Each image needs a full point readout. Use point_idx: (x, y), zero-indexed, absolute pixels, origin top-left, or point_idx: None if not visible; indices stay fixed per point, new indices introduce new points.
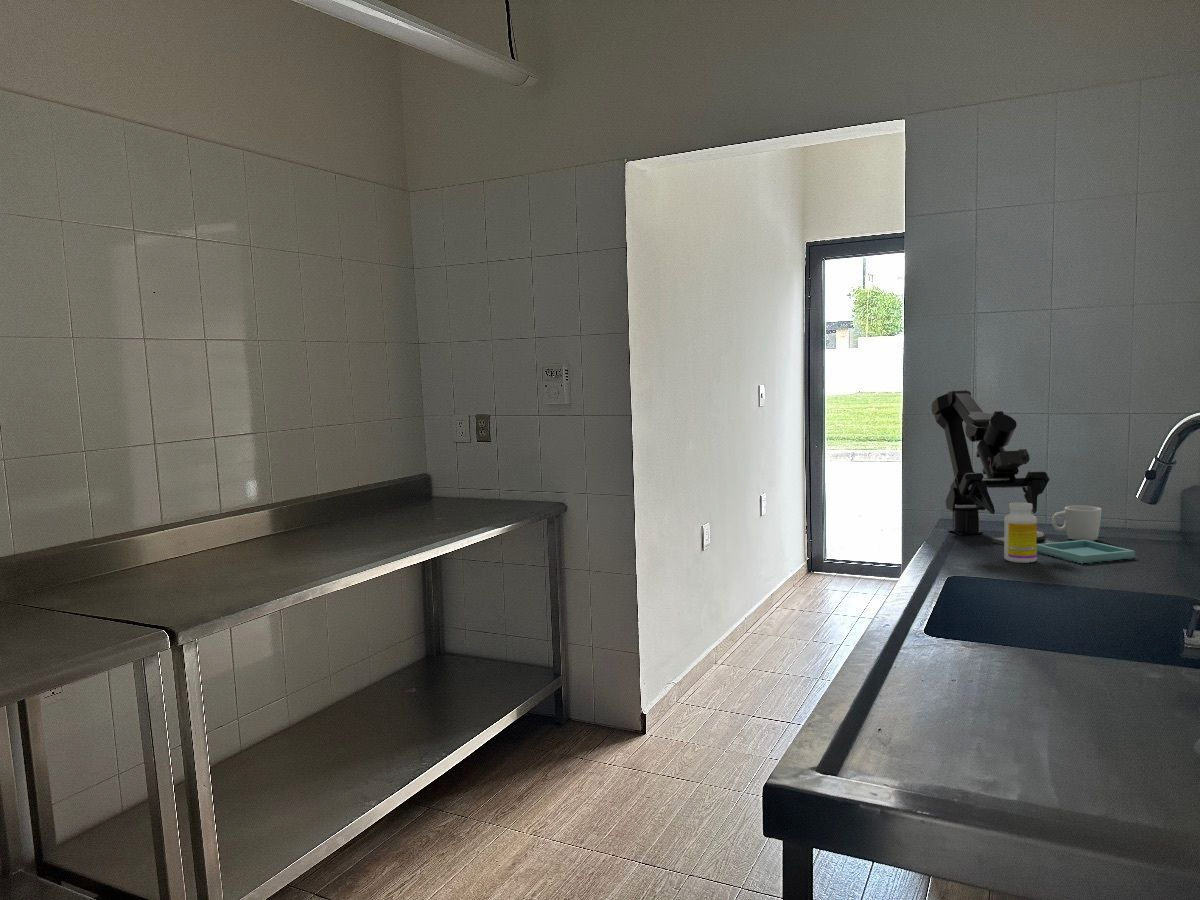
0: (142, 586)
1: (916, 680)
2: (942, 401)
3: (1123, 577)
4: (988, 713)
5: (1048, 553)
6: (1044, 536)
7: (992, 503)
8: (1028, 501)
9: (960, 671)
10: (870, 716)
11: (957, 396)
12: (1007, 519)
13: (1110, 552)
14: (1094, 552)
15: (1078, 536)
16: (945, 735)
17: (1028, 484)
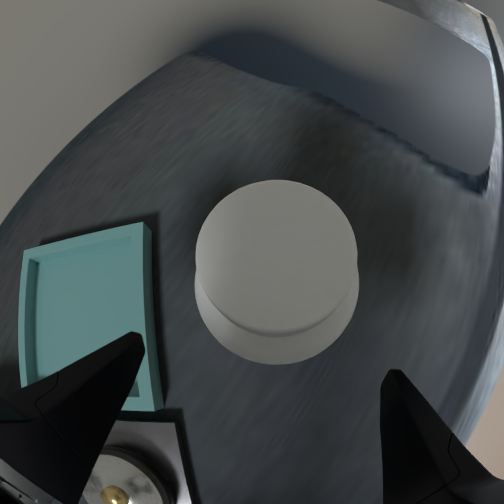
0: None
1: (474, 27)
2: None
3: (170, 124)
4: (444, 5)
5: (154, 351)
6: None
7: (407, 408)
8: (97, 437)
9: (457, 22)
10: (482, 22)
11: None
12: (357, 269)
13: (64, 246)
14: (56, 318)
15: None
16: (457, 6)
17: (11, 486)
